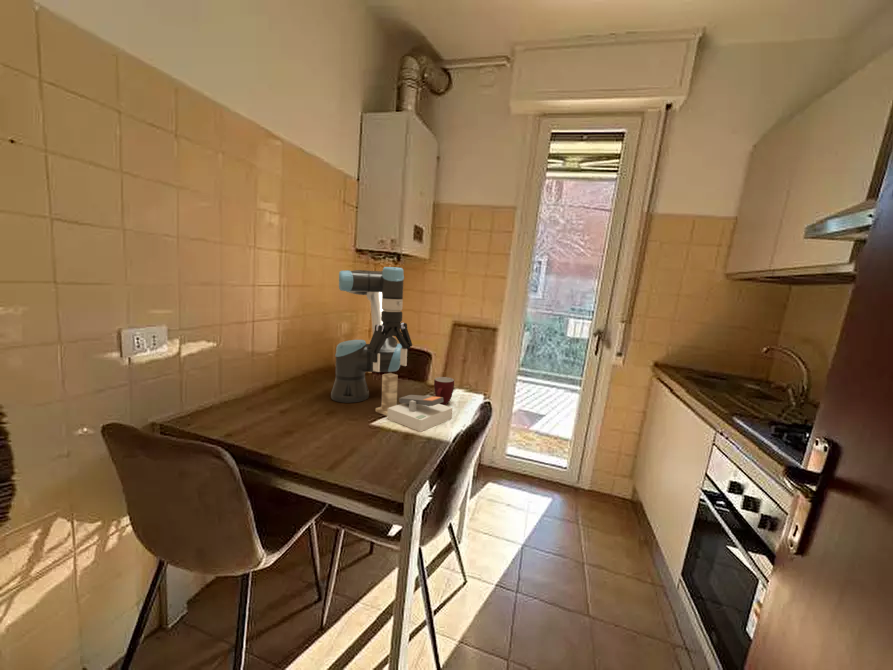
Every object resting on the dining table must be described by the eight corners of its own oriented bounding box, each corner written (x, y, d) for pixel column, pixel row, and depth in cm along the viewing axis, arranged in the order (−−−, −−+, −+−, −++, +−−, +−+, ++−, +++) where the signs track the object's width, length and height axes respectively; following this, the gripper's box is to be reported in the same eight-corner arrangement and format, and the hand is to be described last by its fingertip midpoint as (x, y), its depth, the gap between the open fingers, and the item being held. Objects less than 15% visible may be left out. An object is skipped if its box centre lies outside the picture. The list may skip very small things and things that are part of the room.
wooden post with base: (375, 411, 141) (376, 374, 139) (389, 406, 147) (390, 371, 144) (388, 416, 137) (389, 378, 135) (402, 411, 142) (403, 375, 140)
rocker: (399, 402, 138) (398, 397, 138) (410, 398, 143) (410, 394, 142) (432, 405, 128) (432, 400, 128) (443, 401, 133) (443, 396, 133)
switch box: (387, 418, 134) (387, 398, 133) (419, 407, 148) (420, 388, 147) (420, 431, 125) (421, 410, 124) (451, 418, 138) (453, 398, 137)
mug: (449, 409, 147) (451, 384, 145) (429, 407, 149) (430, 382, 147) (454, 401, 157) (455, 378, 156) (435, 399, 159) (436, 376, 157)
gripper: (372, 313, 124) (371, 375, 127) (422, 310, 143) (420, 364, 146) (357, 310, 128) (356, 371, 131) (408, 308, 148) (406, 361, 151)
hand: (390, 368), depth 139 cm, fingers open, 13 cm apart
